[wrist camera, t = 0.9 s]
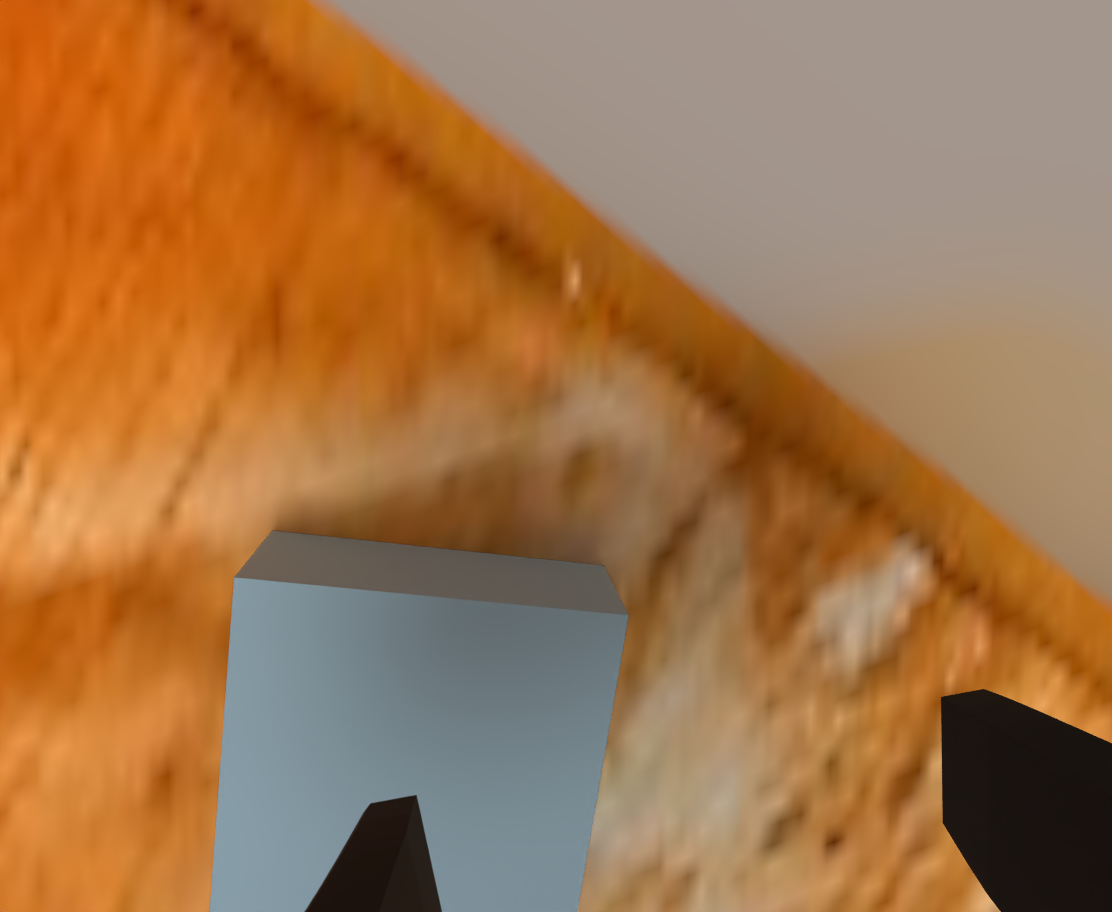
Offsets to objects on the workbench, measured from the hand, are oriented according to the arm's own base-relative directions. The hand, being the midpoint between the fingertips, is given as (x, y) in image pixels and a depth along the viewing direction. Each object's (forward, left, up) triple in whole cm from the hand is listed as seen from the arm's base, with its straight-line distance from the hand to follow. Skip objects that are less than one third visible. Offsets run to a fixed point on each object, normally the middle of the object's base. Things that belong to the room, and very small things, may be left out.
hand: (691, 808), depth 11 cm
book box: (-6, +4, -10) cm, 12 cm away
